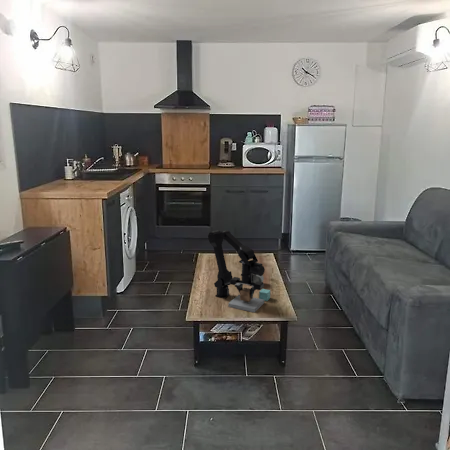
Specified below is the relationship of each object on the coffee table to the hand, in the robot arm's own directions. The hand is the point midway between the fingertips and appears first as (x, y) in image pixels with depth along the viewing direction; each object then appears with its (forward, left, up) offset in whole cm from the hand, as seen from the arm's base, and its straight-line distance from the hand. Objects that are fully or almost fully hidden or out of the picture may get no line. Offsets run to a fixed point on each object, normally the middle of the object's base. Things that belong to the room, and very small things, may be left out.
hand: (246, 297), depth 249 cm
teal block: (+6, +12, -5) cm, 15 cm away
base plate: (0, 0, -4) cm, 4 cm away
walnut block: (0, 0, -1) cm, 1 cm away
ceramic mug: (-8, +30, -5) cm, 31 cm away
